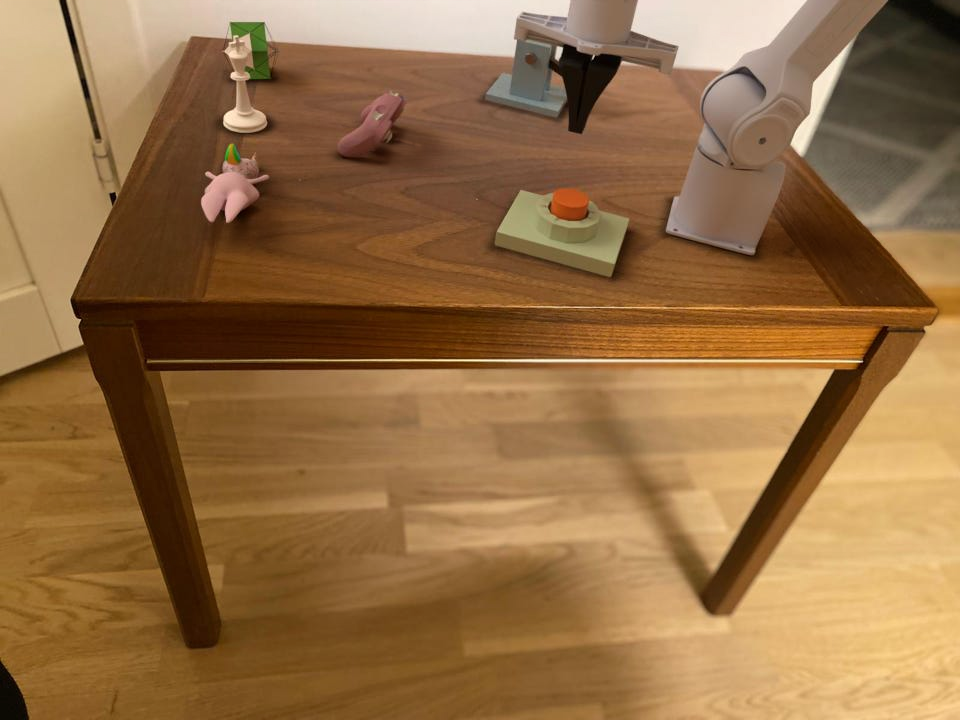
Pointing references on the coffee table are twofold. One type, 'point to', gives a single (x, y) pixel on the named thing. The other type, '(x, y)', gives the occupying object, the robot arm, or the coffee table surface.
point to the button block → (562, 234)
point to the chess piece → (242, 96)
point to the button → (569, 204)
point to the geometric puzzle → (253, 48)
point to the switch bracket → (530, 81)
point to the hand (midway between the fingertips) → (576, 128)
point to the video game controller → (373, 125)
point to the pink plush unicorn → (232, 186)
